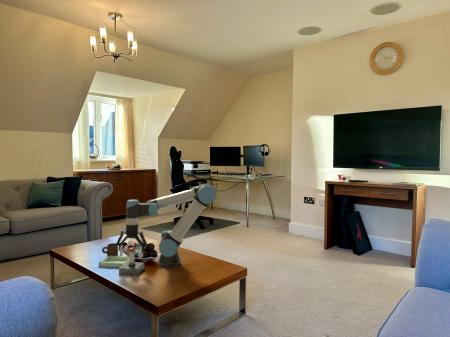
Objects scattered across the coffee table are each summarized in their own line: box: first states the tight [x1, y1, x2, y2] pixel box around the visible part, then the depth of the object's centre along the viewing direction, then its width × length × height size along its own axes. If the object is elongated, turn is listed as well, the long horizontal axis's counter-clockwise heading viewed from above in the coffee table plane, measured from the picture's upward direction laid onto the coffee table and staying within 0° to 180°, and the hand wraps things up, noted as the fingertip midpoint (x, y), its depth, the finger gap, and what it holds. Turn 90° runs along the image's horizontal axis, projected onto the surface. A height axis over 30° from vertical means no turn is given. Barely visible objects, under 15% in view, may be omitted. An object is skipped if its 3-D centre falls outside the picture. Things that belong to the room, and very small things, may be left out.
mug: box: [101, 242, 119, 257], centre depth 224 cm, size 12×8×9 cm, turn 140°
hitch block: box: [118, 261, 145, 276], centre depth 199 cm, size 12×12×4 cm
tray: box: [98, 255, 129, 269], centre depth 212 cm, size 18×14×3 cm
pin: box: [127, 247, 136, 267], centre depth 199 cm, size 4×4×15 cm
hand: (131, 256), depth 199 cm, fingers open, 13 cm apart
